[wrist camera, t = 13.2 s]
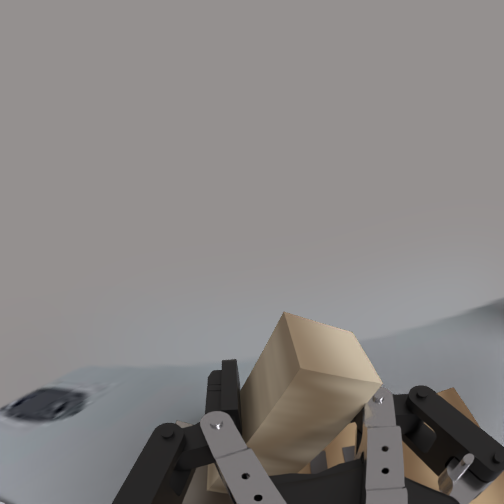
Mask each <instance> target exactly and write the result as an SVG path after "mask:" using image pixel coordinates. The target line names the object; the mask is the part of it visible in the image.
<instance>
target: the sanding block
mask: <svg viewBox="0 0 504 504" xmlns="http://www.w3.org/2000/svg"><path fill="white" fill-rule="evenodd" d="M382 384H383V383H382V381H381V379H380V377H379V376H378V374H377V372H376V371H375V369H374V367H373V365H372V364H371V362H370V360H369V359H368V357H367V355H366V354H365V352H364V350H363V349H362V347H361V345H360V344H359V342H358V340H357V339H356V337H355V335H354V334H353V332H350V331H347V330H342V329H339V328H336V327H332V326H329V325H326V324H322V323H319V322H316V321H312V320H309V319H306V318H303V317H299V316H296V315H293V314H290V313H286V312H283V314H282V316H281V318H280V320H279V322H278V324H277V326H276V327H275V329H274V331H273V333H272V335H271V337H270V339H269V341H268V342H267V344H266V346H265V348H264V350H263V352H262V354H261V355H260V357H259V359H258V361H257V362H256V364H255V366H254V368H253V370H252V371H251V373H250V375H249V377H248V379H247V380H246V382H245V384H244V386H243V387H242V389H241V391H240V400H241V418H242V436H241V437H242V438H243V440H244V442H245V444H246V445H247V447H248V448H249V447H250V448H251V449H252V450H253V452H254V453H255V455H256V457H257V458H258V460H259V462H260V463H261V465H262V467H263V468H264V470H265V471H266V473H267V474H268V476H273V475H281V474H289V473H298V472H299V471H300V470H302V469H303V468H304V467H305V466H306V465H307V464H308V463H309V462H310V461H312V460H313V459H314V458H315V457H316V456H317V455H318V454H319V453H320V452H321V451H322V450H323V449H324V448H325V447H326V446H327V445H328V444H329V443H330V442H331V441H332V440H333V439H334V438H335V437H336V436H337V435H338V434H339V433H340V432H341V431H342V430H343V429H344V428H345V427H346V426H347V425H348V424H349V423H350V422H351V421H352V419H353V418H354V417H355V416H356V415H357V414H358V413H359V412H360V410H361V409H362V408H363V407H364V404H365V403H367V402H368V401H369V400H370V399H371V398H372V396H373V395H374V394H375V393H376V392H377V390H378V389H379V388H380V387H381V385H382ZM175 424H177V425H179V426H180V427H181V428H185V427H189V426H192V424H188V423H184V422H181V421H176V423H175ZM182 504H233V503H232V501H231V499H230V497H229V495H228V493H227V490H226V488H225V486H224V484H223V482H222V480H221V478H220V475H219V473H218V471H217V469H216V467H215V465H214V463H212V464H209V465H205V466H201V467H198V468H196V470H195V473H194V475H193V478H192V480H191V483H190V485H189V488H188V490H187V493H186V495H185V497H184V500H183V502H182Z"/></svg>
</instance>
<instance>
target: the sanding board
mask: <svg viewBox="0 0 504 504" xmlns="http://www.w3.org/2000/svg"><path fill="white" fill-rule="evenodd" d="M437 394H438V395H440V396H441V397H442V398H443V399H445V400H446V401H447V402H448V403H450V404H451V405H452V406H453V407H455V408H456V409H457V410H458V411H460V412H461V413H462V414H463V415H465V416H466V417H467V418H468V419H470V420H471V421H472V422H473V423H475V424H476V425H477V426H478V427H479V425H478V423H477V422H476V420H475V419H474V417H473V416H472V414H471V413H470V411H469V409H468V408H467V406H466V405H465V403H464V402H463V400H462V399H461V398H460V396H459V395H458V393H457V392H456V390H455V389H454V387H453V388H450V389H447V390H444V391H441V392H438V393H437ZM424 423H425V422H424ZM425 424H426V423H425ZM426 425H427V424H426ZM427 426H428V425H427ZM356 427H357V425H356V423H355V422H353V423H349V424H348V425H347V426H346V427H345V428H344V429H343V430H342V431H341V432H340V433H339V434H338V435H337V436H336V437H335V438H334V439H333V440H332V441H331V442H330V443H329V444H328V445H327V446H326V447H325V448H324V449H323V450H322V451H321V452H320V453H319V454H318V455H317V456H316V457H315V458H314V459H313V460H312V461H310V462H309V463H308V464H307V465H306V466H305V467H304V468H303V469H302V470H300V471H299V472H298V473H299V474H317V473H320V472H322V471H324V470H327V469H329V468H331V467H333V466H335V465H337V464H340V463H344V462H348V461H352V460H354V451H355V431H356ZM428 427H429V426H428ZM429 428H430V427H429ZM430 429H431V428H430ZM431 430H432V429H431ZM402 447H403V461H404V477H407V478H409V479H411V480H413V481H415V482H418V483H420V484H422V485H425V486H427V487H429V488H432V489H434V490H437V491H439V492H440V490H439V485H438V478H439V477H438V476H437V475H436V474H435V473H434V472H433V471H432V470H431V469H430V468H429V467H428V466H427V465H426V464H425V463H424V462H423V461H422V460H421V459H420V458H419V457H418V456H417V455H416V454H415V453H414V452H413V451H412V450H411V449H410V448H409V447H408V446H407V445H406V444H405V443H404V442H403V441H402ZM442 493H443V492H442ZM469 504H504V471H503V472H502V473H501V474H500V475H499V476H498V477H497V478H496V479H495V480H494V481H493V482H492V483H491V484H490V485H489V486H488V487H487V488H486V489H485V490H484V491H483V492H482V493H481V494H480V495H479V496H478V497H477V498H475V499H474V500H472V501H471V502H470V503H469Z"/></svg>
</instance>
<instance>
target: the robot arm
mask: <svg viewBox="0 0 504 504" xmlns="http://www.w3.org/2000/svg"><path fill="white" fill-rule="evenodd" d="M353 422H355V423H356V425H357V427H356V431H355V451H354V460H352V461H348V462H344V463H340V464H337V465H335V466H333V467H331V468H329V469H327V470H324V471H322V472H320V473H317V474H299V473H289V474H281V475H273V476H268V474H267V473H266V471H265V470H264V468H263V467H262V465H261V463H260V462H259V460H258V458H257V457H256V455H255V453H254V452H253V450H252V449H251V448H250V447H249V448H248V447H247V445H246V444H245V442H244V440H243V438H242V437H241V436H242V418H241V400H240V381H239V374H238V367H237V360H236V359H233V360H222V370H214V371H212V372H211V374H210V375H209V377H208V386H207V397H206V410H205V415H204V416H203V417H202V419H201V421H200V422H199V423H197V424H195V425H192V426H189V427H185V428H181V427H180V426H179V425H177V424H174V423H165V424H162V425H159V426H158V427H157V428H156V429H155V430H154V431H153V433H152V435H151V437H150V438H149V440H148V442H147V444H146V445H145V447H144V449H143V451H142V452H141V454H140V456H139V457H138V459H137V461H136V463H135V464H134V466H133V468H132V470H131V471H130V473H129V475H128V477H127V478H126V480H125V482H124V483H123V485H122V487H121V489H120V490H119V492H118V494H117V496H116V497H115V499H114V501H113V503H112V504H182V502H183V500H184V497H185V495H186V493H187V490H188V488H189V485H190V483H191V480H192V478H193V475H194V473H195V470H196V468H198V467H201V466H205V465H209V464H212V463H214V465H215V467H216V469H217V471H218V473H219V475H220V478H221V480H222V482H223V484H224V486H225V488H226V490H227V493H228V495H229V497H230V499H231V501H232V503H233V504H469V503H470V502H471V501H472V500H474V499H475V498H477V497H478V496H479V495H480V494H481V493H482V492H483V491H484V490H485V489H486V488H487V487H488V486H489V485H490V484H491V483H492V482H493V481H494V480H495V479H496V478H497V477H498V476H499V475H500V474H501V473H502V472H503V471H504V447H503V446H502V445H501V444H499V443H498V442H497V441H496V440H494V439H493V438H492V437H491V436H490V435H488V434H487V433H486V432H485V431H483V430H482V429H481V428H480V427H478V426H477V425H476V424H475V423H473V422H472V421H471V420H470V419H468V418H467V417H466V416H465V415H463V414H462V413H461V412H460V411H458V410H457V409H456V408H455V407H453V406H452V405H451V404H450V403H448V402H447V401H446V400H445V399H443V398H442V397H441V396H440V395H438V394H437V393H436V392H435V391H433V390H432V389H431V388H429V387H427V386H415V387H413V388H412V389H411V390H410V391H409V394H401V395H394V394H392V393H391V392H390V391H389V390H388V389H386V388H383V387H380V388H379V389H378V390H377V392H376V393H375V394H374V395H373V396H372V398H371V399H370V400H369V401H368V402H367V403H365V404H364V407H363V408H362V409H361V410H360V412H359V413H358V414H357V415H356V416H355V417H354V418H353V419H352V421H351V422H350V423H353ZM424 422H425V423H426V424H427V425H428V426H429V427H430V428H431V429H432V430H431V429H430V428H429V427H428V426H427V425H426V424H425V423H424ZM402 441H403V442H404V443H405V444H406V445H407V446H408V447H409V448H410V449H411V450H412V451H413V452H414V453H415V454H416V455H417V456H418V457H419V458H420V459H421V460H422V461H423V462H424V463H425V464H426V465H427V466H428V467H429V468H430V469H431V470H432V471H433V472H434V473H435V474H436V475H437V476H438V477H439V478H438V485H439V490H440V492H439V491H437V490H434V489H432V488H429V487H427V486H425V485H422V484H420V483H418V482H415V481H413V480H411V479H409V478H407V477H404V461H403V447H402ZM442 492H443V493H442Z"/></svg>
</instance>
